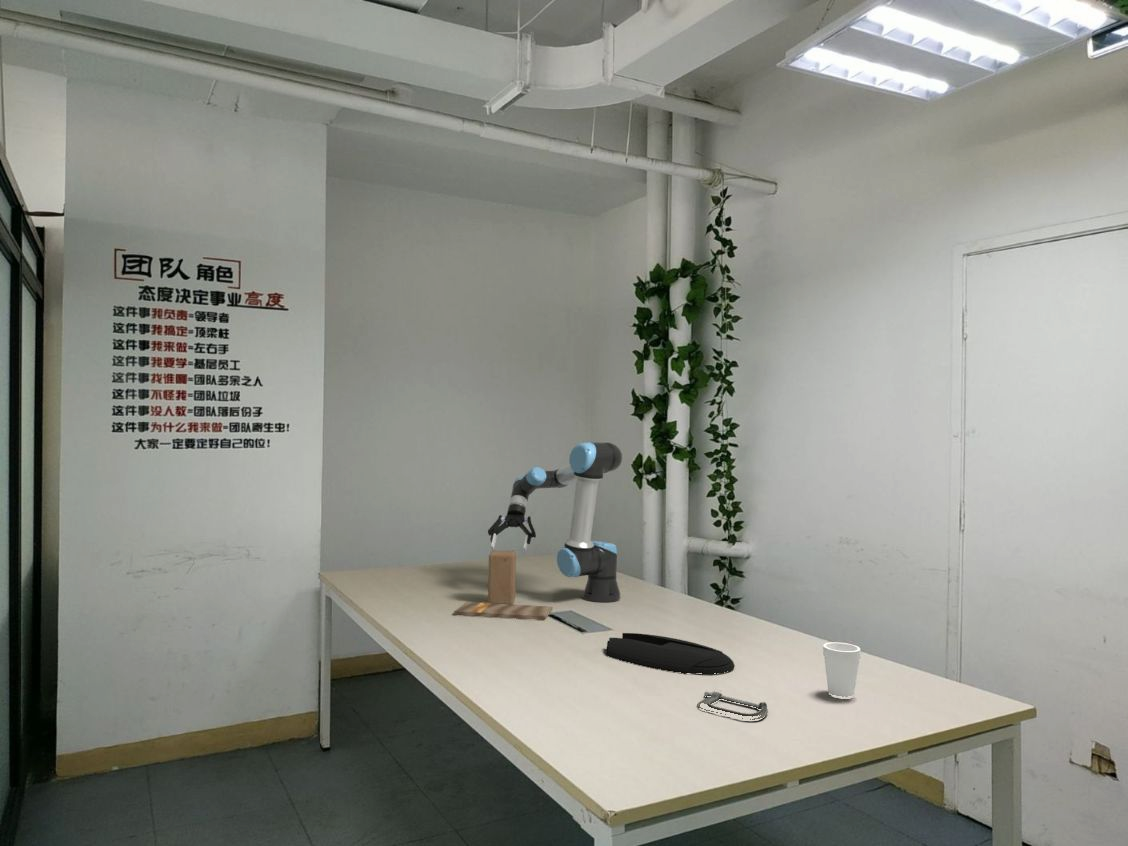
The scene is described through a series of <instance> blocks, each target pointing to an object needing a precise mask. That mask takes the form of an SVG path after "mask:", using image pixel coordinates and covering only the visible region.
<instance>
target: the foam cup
mask: <svg viewBox="0 0 1128 846" xmlns="http://www.w3.org/2000/svg"><path fill="white" fill-rule="evenodd" d="M822 649H823V650H822V654H823V657H824V659H823V660H824V665H825V675H826V685H827V693H828V692H829V693H830V694H832V695H836V696H842V697H844V696H845V697H848V696H852V695H854V696H855V689H856V684H857V678H858V670H859V666H860V665H859V664H860V660H861V648H860V647H859V646H858V645H856V644H855V645H854V644H851V643H847V642H834V641H833V642H826V643H824V644H823V645H822ZM829 693H828V694H829Z"/></svg>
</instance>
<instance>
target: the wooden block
mask: <svg viewBox="0 0 1128 846" xmlns="http://www.w3.org/2000/svg"><path fill="white" fill-rule="evenodd" d="M516 564H517V552H516V551H515V550H498V549H497V550H496V549H494V550H491V552H490V553H489V555H488V580H487V581H488V583H487V585H488V587H487V593H488V594H487V603H494V604H512V605H514V602H515V600H516V577H517V575H516V574H517V573H516V571H517V570H516V568H517V565H516Z"/></svg>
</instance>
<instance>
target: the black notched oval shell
mask: <svg viewBox="0 0 1128 846" xmlns="http://www.w3.org/2000/svg"><path fill="white" fill-rule="evenodd" d="M605 649H606V650H605V651H606V652H605V653H606V655H607V657H608V656H610V657H609V658H611V657H612V659H614V658H615V659H614V660H617V659H619V660H618V661H621V660H622V661H621V662H624V661H626V662H625V663H628V662H630V663H629V664H632V663H634V664H633V665H636V664H638V665H637V666H640V665H642V666H641V667H644V666H646V667H645V668H649V667H650V669H654V668H655V670H658V669H661V670H660V671H664V670H667V671H666V672H669V671H673V672H672V673H675V672H681V673H680V674H682V673H702V674H714V673H716V675H718V674H717V673H724V672H727V671H730V672H732V671H733V670H732V669H735V668H734V667H735V663H734V660H732V659H731V657H730V656H729V655H727V654H725V653H724V652H723V651H722V650H718V649H716V648H713V647H710V646H707V645H703V644H699V643H696V642H692V641H688V640H684V639H679V638H673V637H669V636H668V637H667V636H663V635H655V634H649V633H648V634H645V633H636V632H635V633H634V632H622V637H609V640H607V642H606V648H605ZM731 670H732V671H731ZM724 674H725V673H724Z"/></svg>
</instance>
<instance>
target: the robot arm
mask: <svg viewBox="0 0 1128 846" xmlns="http://www.w3.org/2000/svg"><path fill="white" fill-rule="evenodd" d="M568 457H569V459H568V461H569V464H567V465H565V466H562V467H560V468H558V469H554V470H544V469H543V468H542V467H539V466H534V467H533V468H531V469H530V470H528V472H526V474H524V476H519V477H517V478H515V479H514V482H513V485H512V490H511V494H510V500H509V505H508V508H507V513H506V516H502V514H499V515H498V518H497V519H496V520H495V522H494V523H493V524H492V525H491V526H490V527H489V528H488V530H487V532H488V534H487V535H488V536H489V537H490V538H489V539H490V543H491V545H490V547H491V551H493V550H495V546H496V542H497V537H498V535H499V534H500V533H502V532H503V531H504V530H506V529H508V528H509V527H510V528H518V527H519V529H521V530H522V532H523V533H524V534H525V537H524V538H525V539H524V543H523V551H524V553H525V552H527V549H528V545H531V541H532V538H536V537H537V534H536V531H535V528H534V526H533V524H532V518H531V516H530V515H529V516H527V517H526V513H527V512H526V509H527V505H528V500H529V497H530V496H531V495H532V493H533V492H535V491H536V490H537V489H551V488H552V489H560V488H567V487H568V485H570V484H571V483H574V482H576V484H575V491H574V500H573V505H572V506H573V508H572V515H571V522H570V531H569V537H568V538H567V539H565V541H564V546H563V547H562V548H560V549H559V550H558V551H557V554H556V563H557V567H558V569H559V571H560V573H561V574H562V575H563V576H565V577H567V578H578V577H579V578H580V577H584V576H587V581H586V584H585V586H584V587H585V588H584V590H583V594H582V595H583V596H582V597H583V599H584V600H586V601H589V602H594V601H595V602H597V603H612V602H613V601H614V602H618V601H620V600H621V592H620V589H619V588H620V587H619V584H618V582H617V581H618V580H617V565H618V563H617V562H618V551H617V550H618V549H617V545H616V544H614V543H610V542H604V541H599V540H598V541H597V540H596V541H595V540H592V533H593V525H594V517H595V509H596V503H597V495H598V489H599V488H598V487H599V482H600V481H602V480H603V479H604V474H606V473H609V472H614V471H616V470H617V469H618V468H619V467H620V465H621V464H622V462H623V454H622V451H621V449H620V447H618V446H617V445H616V444H614V443H611V442H589V441H587V442H581V443H578V444H576V445H575V446H574V447H573V448H572V449H571V451H570V454H569V456H568ZM524 523H526V524H528V527H529V529H528V528H527V527H526V525H525V524H524ZM529 530H530V531H529ZM619 599H620V600H619ZM617 600H618V601H617Z"/></svg>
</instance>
